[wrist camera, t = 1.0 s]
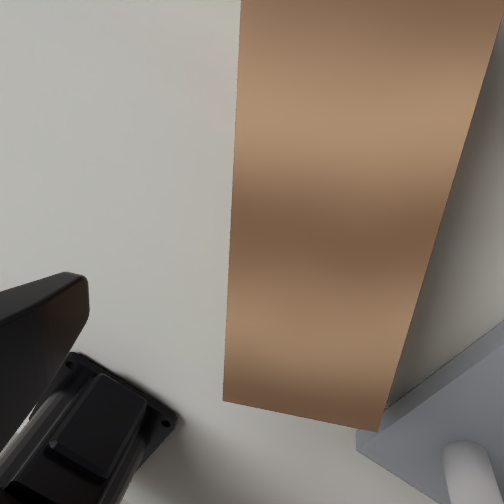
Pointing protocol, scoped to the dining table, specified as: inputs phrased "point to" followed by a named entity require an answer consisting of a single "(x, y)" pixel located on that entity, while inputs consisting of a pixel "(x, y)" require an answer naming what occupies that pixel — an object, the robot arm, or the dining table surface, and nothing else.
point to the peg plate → (449, 429)
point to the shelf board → (341, 191)
